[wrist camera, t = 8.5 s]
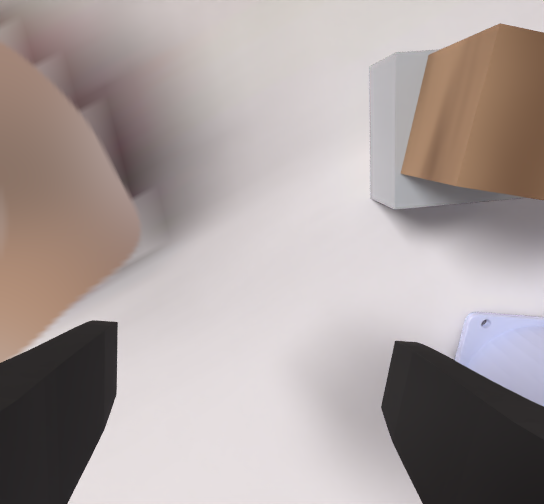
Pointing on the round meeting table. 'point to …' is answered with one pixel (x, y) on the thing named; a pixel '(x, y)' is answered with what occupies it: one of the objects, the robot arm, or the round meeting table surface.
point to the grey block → (405, 138)
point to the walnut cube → (482, 114)
